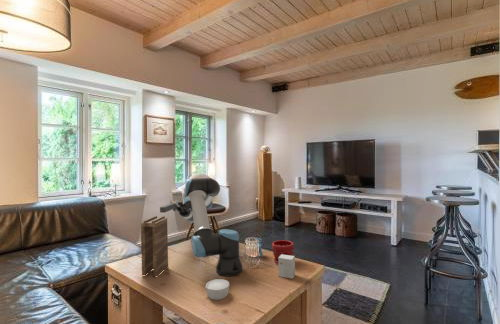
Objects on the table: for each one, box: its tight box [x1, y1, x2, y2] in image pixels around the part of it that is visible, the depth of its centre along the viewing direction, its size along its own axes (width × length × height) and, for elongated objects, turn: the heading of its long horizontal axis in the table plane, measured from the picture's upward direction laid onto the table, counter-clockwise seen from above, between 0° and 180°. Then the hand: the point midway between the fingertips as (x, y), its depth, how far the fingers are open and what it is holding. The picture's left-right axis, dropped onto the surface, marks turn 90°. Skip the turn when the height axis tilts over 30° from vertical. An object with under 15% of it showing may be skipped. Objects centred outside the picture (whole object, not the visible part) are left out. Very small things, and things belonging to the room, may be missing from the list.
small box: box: [277, 254, 296, 279], centre depth 145 cm, size 8×6×10 cm
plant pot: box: [271, 239, 294, 264], centre depth 164 cm, size 13×13×12 cm
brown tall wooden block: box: [140, 215, 169, 277], centre depth 152 cm, size 9×13×31 cm
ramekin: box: [205, 278, 230, 301], centre depth 126 cm, size 11×11×5 cm
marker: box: [159, 200, 181, 213], centre depth 172 cm, size 3×21×3 cm, turn 170°
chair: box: [252, 236, 263, 258], centre depth 175 cm, size 8×8×12 cm
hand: (173, 201), depth 175 cm, fingers closed on marker, 3 cm apart
